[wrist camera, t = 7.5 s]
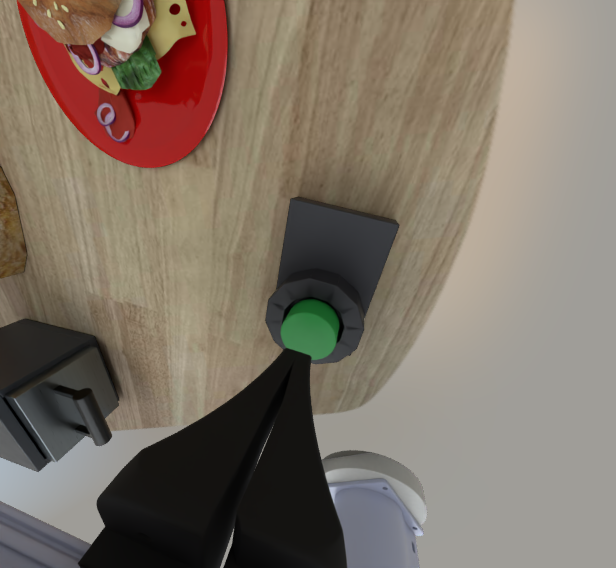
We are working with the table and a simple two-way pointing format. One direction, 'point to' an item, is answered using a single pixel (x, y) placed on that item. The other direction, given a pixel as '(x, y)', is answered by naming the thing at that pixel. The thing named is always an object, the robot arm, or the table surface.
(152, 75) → the hamburger
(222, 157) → the table surface
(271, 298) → the block
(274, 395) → the robot arm
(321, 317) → the button
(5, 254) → the bread
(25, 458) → the cabinet
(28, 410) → the drawer
